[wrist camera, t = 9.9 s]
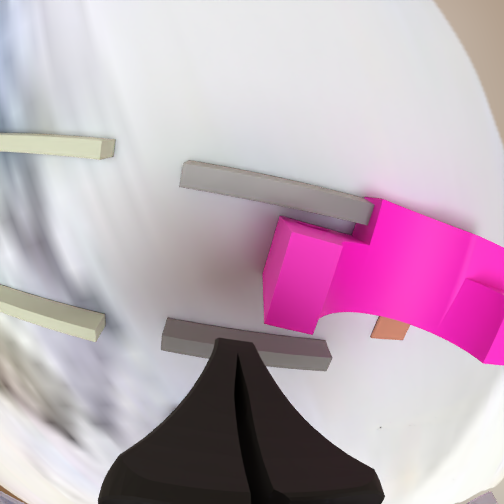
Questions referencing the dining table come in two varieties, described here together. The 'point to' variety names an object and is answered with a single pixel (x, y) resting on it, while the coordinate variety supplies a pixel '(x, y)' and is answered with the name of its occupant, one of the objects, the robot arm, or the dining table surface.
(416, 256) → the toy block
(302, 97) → the dining table surface
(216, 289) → the dining table surface
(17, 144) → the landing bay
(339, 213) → the channel
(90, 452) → the dining table surface
